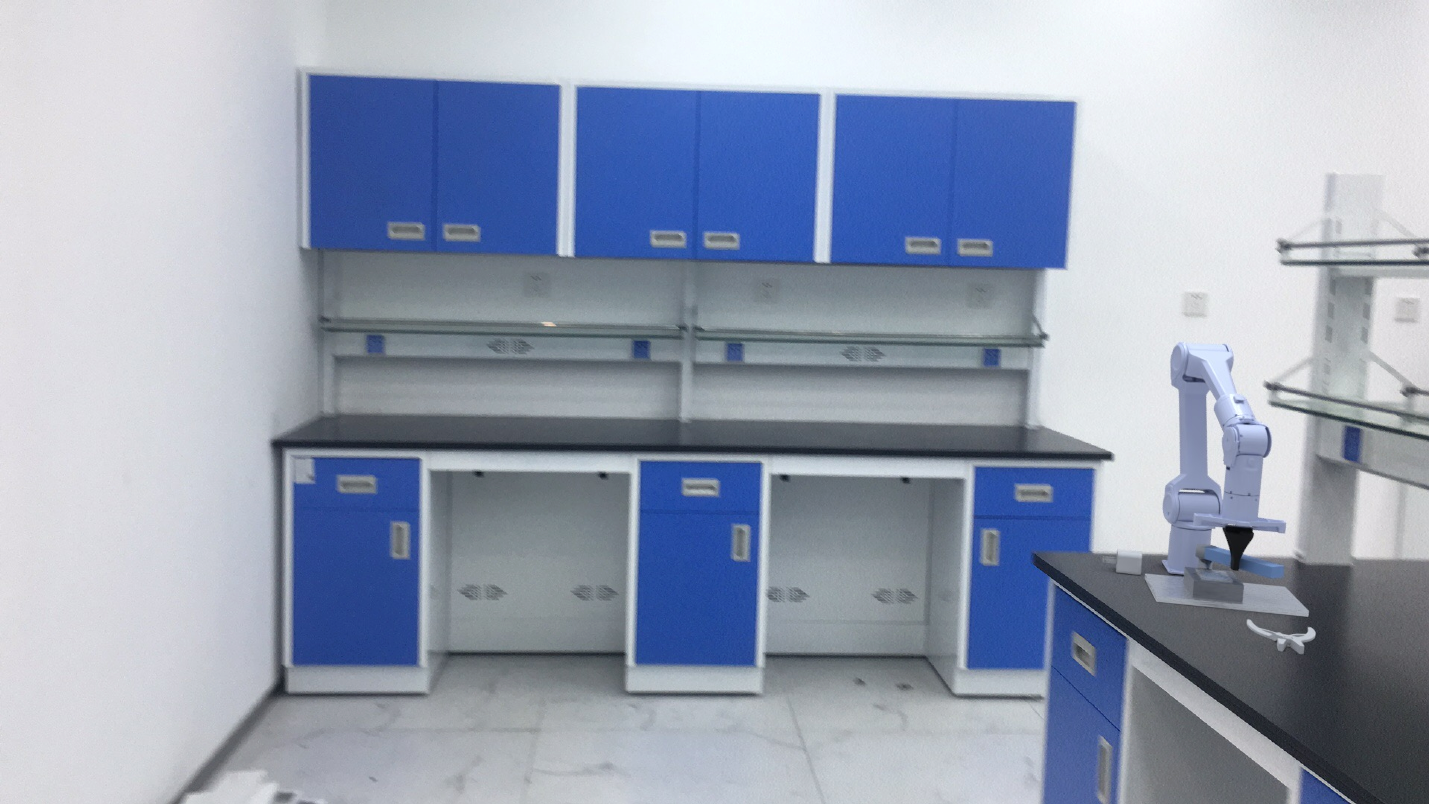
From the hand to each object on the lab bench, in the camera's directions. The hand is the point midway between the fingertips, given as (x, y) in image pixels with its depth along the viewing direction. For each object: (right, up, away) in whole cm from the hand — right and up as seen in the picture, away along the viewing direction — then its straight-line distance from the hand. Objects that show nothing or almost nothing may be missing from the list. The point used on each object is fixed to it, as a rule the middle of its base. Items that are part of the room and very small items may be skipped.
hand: (1234, 569), depth 194 cm
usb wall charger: (-13, -3, +19) cm, 23 cm away
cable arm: (+2, 0, +3) cm, 4 cm away
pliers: (-2, -8, -20) cm, 22 cm away
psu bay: (-1, -5, +3) cm, 6 cm away
